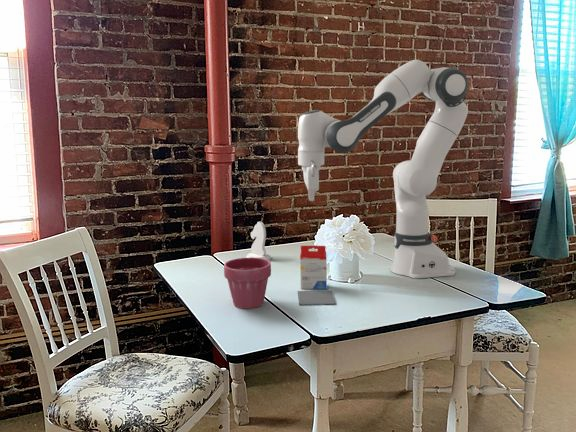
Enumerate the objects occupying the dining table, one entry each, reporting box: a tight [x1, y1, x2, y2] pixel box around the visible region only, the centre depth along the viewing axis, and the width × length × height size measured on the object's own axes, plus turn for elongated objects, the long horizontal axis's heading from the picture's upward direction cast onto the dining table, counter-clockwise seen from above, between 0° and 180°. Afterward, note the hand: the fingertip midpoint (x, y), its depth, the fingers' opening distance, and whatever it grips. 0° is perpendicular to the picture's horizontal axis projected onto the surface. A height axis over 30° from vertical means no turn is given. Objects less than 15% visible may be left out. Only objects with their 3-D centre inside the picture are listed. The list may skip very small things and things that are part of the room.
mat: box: [297, 290, 337, 306], centre depth 178 cm, size 11×12×1 cm
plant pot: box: [223, 257, 272, 309], centre depth 173 cm, size 14×14×13 cm
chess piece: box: [245, 221, 272, 261], centre depth 221 cm, size 10×10×15 cm
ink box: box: [299, 244, 328, 290], centre depth 187 cm, size 8×5×15 cm, turn 84°
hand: (311, 200), depth 194 cm, fingers closed
